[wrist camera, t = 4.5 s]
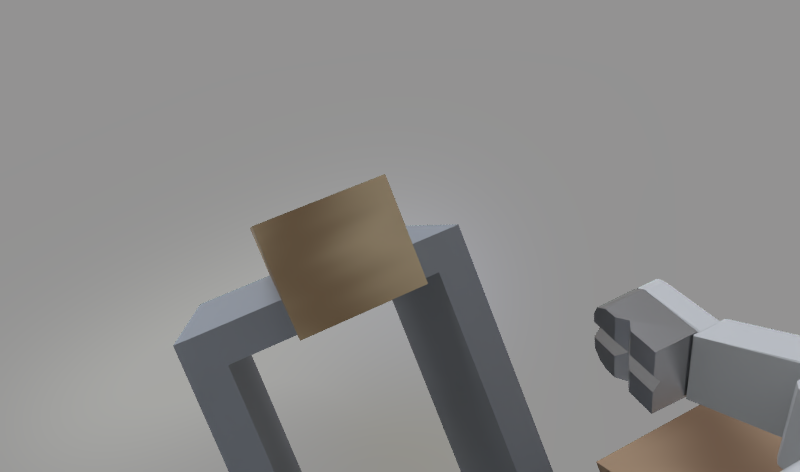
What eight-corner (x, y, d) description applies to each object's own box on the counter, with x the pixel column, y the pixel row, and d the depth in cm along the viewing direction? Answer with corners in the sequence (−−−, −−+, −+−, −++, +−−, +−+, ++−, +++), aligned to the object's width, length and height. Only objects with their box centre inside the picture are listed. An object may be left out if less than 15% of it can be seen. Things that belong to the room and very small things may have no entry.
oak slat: (300, 340, 15) (252, 226, 15) (270, 275, 36) (250, 228, 36) (428, 283, 16) (384, 174, 15) (324, 252, 37) (305, 206, 37)
